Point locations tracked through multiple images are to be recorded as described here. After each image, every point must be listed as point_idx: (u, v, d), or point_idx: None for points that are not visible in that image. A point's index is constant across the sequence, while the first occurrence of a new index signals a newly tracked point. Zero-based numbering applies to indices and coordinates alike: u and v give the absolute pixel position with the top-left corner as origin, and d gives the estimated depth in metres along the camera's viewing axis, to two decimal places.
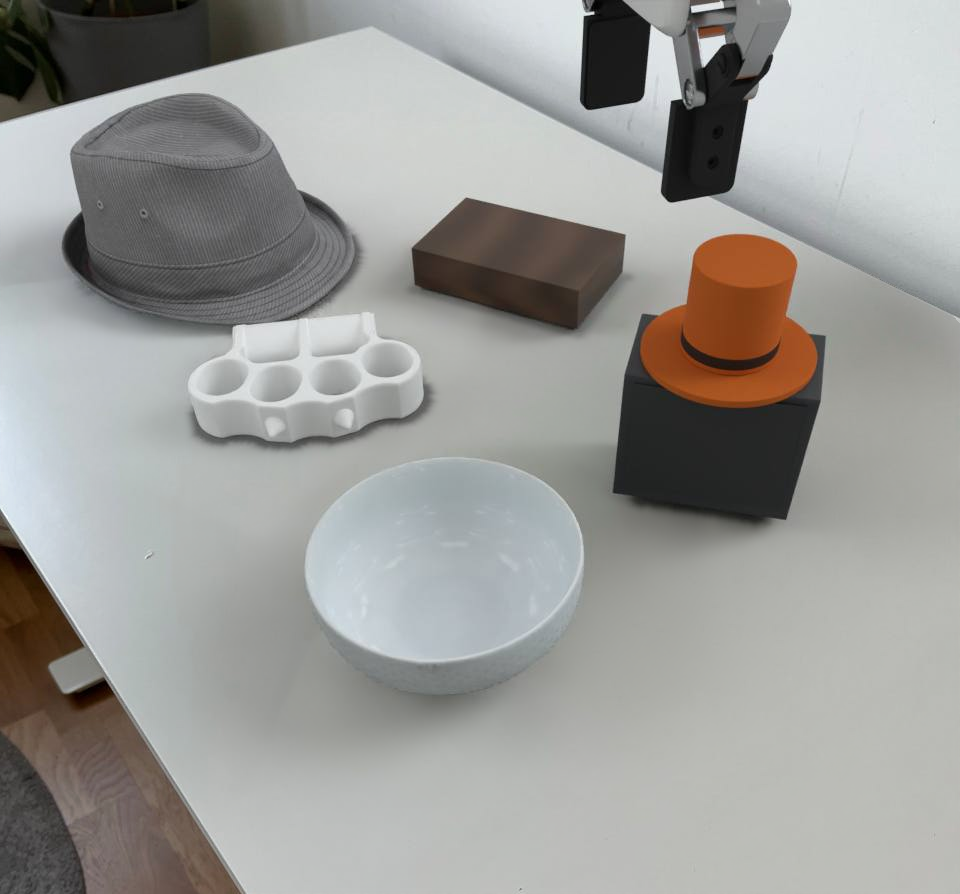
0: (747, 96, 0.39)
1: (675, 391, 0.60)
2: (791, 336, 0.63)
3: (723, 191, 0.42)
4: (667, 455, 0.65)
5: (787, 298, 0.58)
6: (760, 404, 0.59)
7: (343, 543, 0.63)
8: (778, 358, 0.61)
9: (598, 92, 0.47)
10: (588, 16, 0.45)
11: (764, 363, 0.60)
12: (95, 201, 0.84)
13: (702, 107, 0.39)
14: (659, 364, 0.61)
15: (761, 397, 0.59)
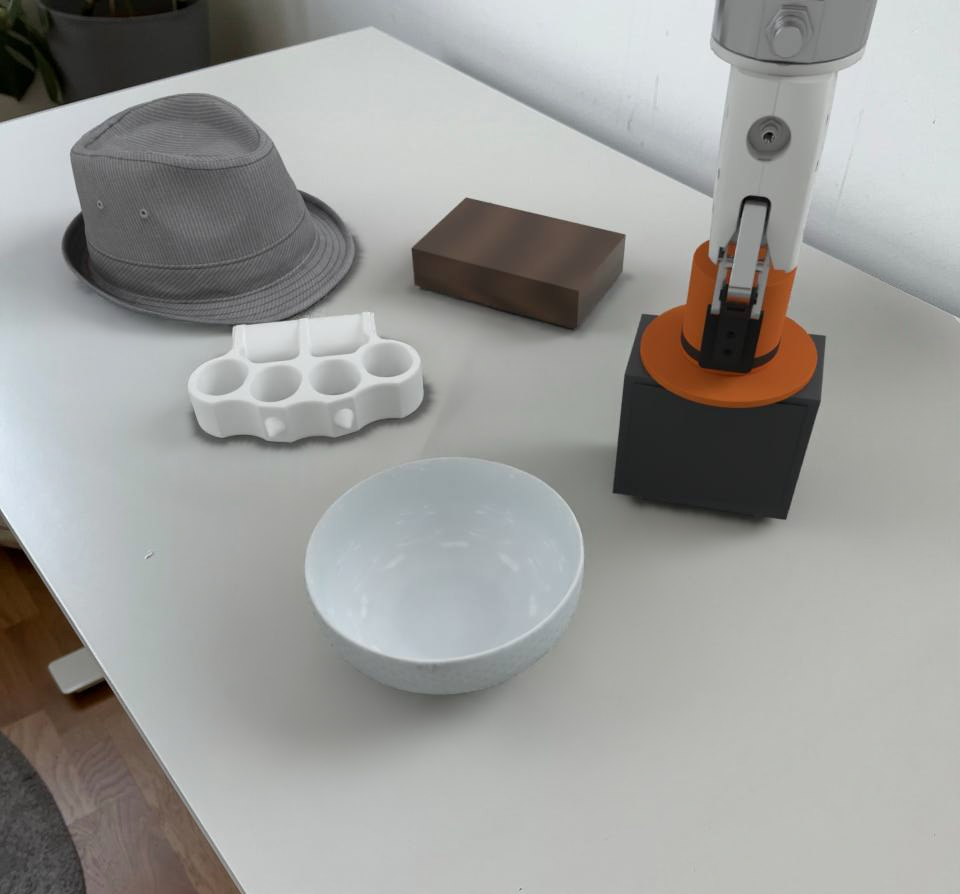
0: (752, 318, 0.55)
1: (675, 391, 0.60)
2: (791, 336, 0.63)
3: (743, 372, 0.59)
4: (667, 455, 0.65)
5: (787, 298, 0.58)
6: (760, 404, 0.59)
7: (343, 543, 0.63)
8: (778, 358, 0.61)
9: None
10: None
11: (764, 363, 0.60)
12: (95, 201, 0.84)
13: (720, 315, 0.56)
14: (659, 364, 0.61)
15: (761, 397, 0.59)
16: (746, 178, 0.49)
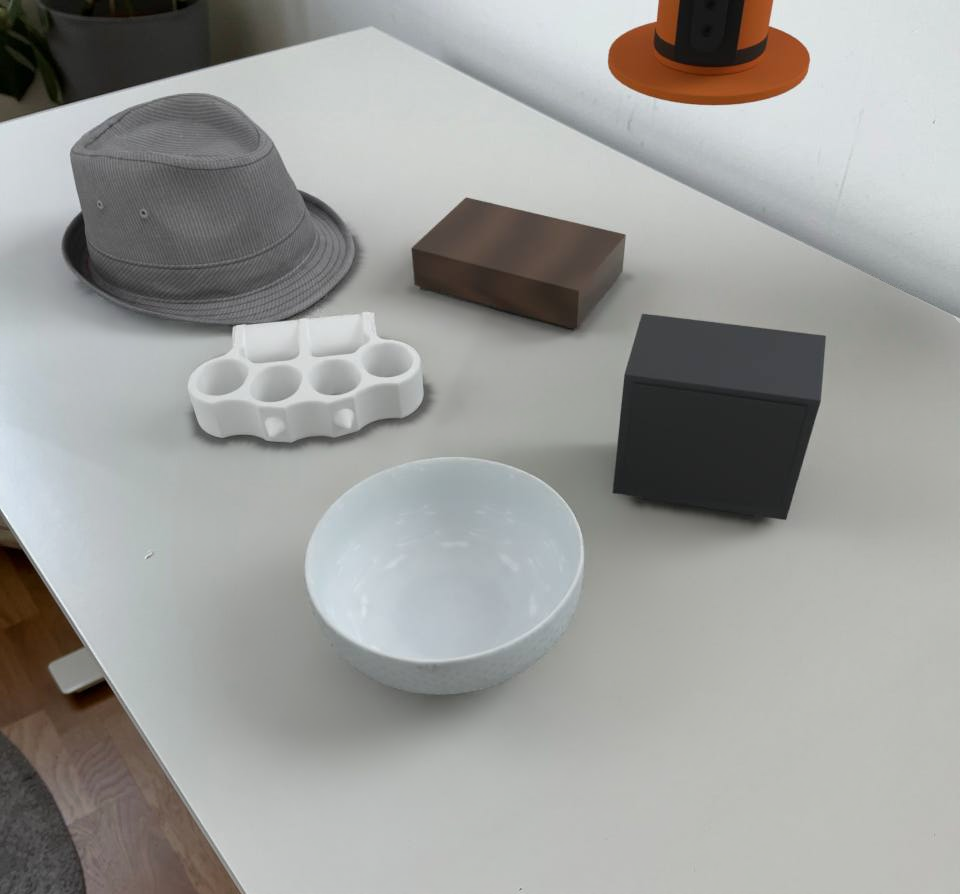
0: None
1: (648, 92, 0.52)
2: (780, 43, 0.55)
3: (725, 63, 0.51)
4: (667, 455, 0.65)
5: None
6: (745, 100, 0.51)
7: (343, 543, 0.63)
8: (765, 60, 0.54)
9: None
10: None
11: (749, 59, 0.52)
12: (95, 201, 0.84)
13: None
14: (629, 68, 0.53)
15: (746, 91, 0.51)
16: None
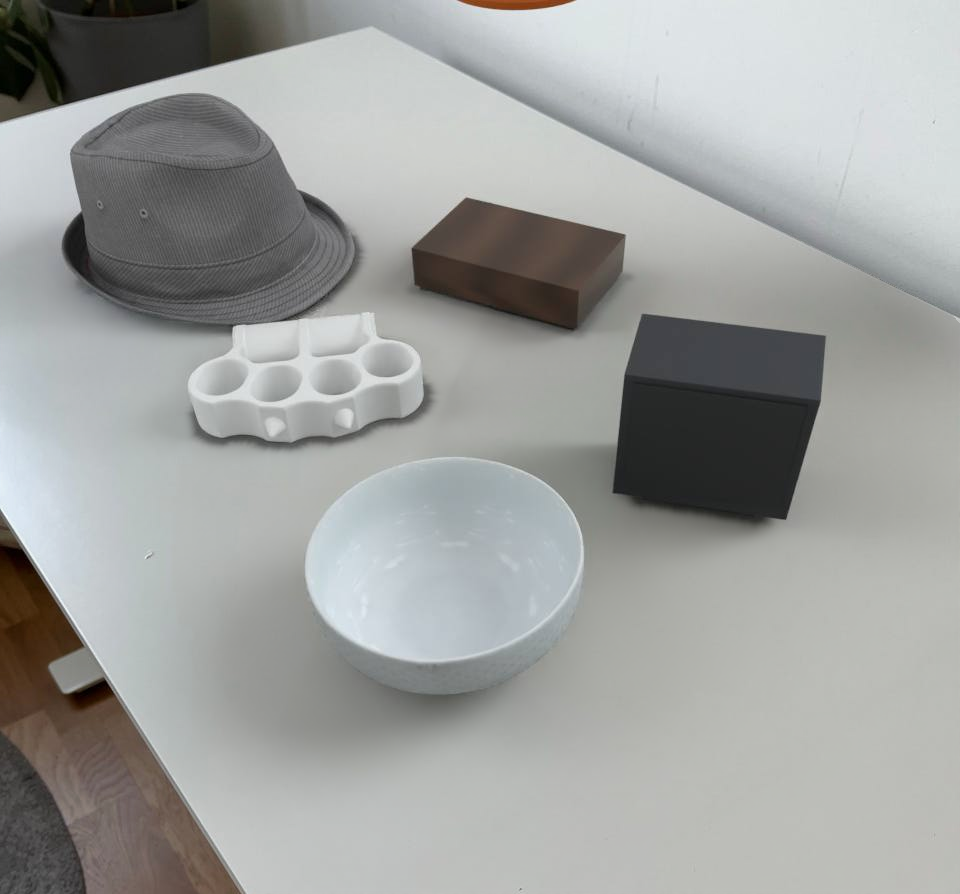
0: None
1: (465, 0, 0.68)
2: None
3: None
4: (667, 455, 0.65)
5: None
6: (538, 6, 0.67)
7: (343, 543, 0.63)
8: None
9: None
10: None
11: None
12: (95, 201, 0.84)
13: None
14: None
15: None
16: None
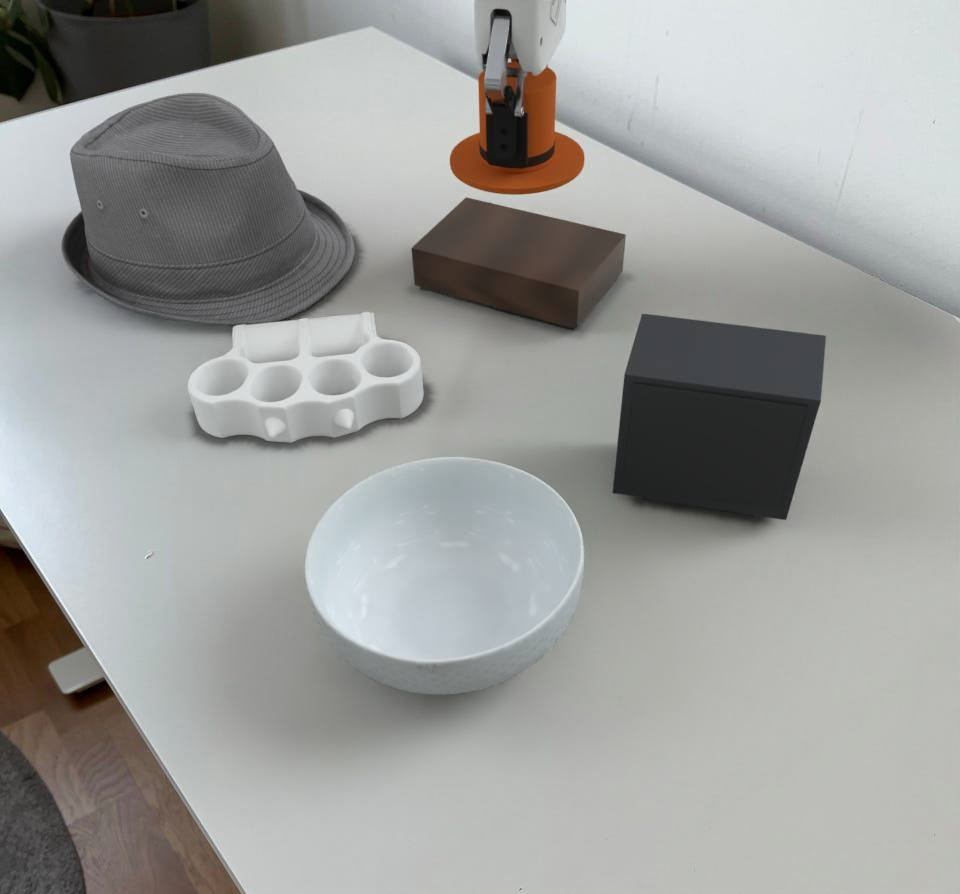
0: (516, 115, 0.73)
1: (470, 184, 0.78)
2: (567, 149, 0.81)
3: (520, 167, 0.77)
4: (667, 455, 0.65)
5: (549, 107, 0.76)
6: (533, 191, 0.77)
7: (343, 543, 0.63)
8: (553, 162, 0.79)
9: None
10: None
11: (539, 163, 0.78)
12: (95, 201, 0.84)
13: (493, 115, 0.74)
14: (461, 166, 0.79)
15: (533, 185, 0.77)
16: None
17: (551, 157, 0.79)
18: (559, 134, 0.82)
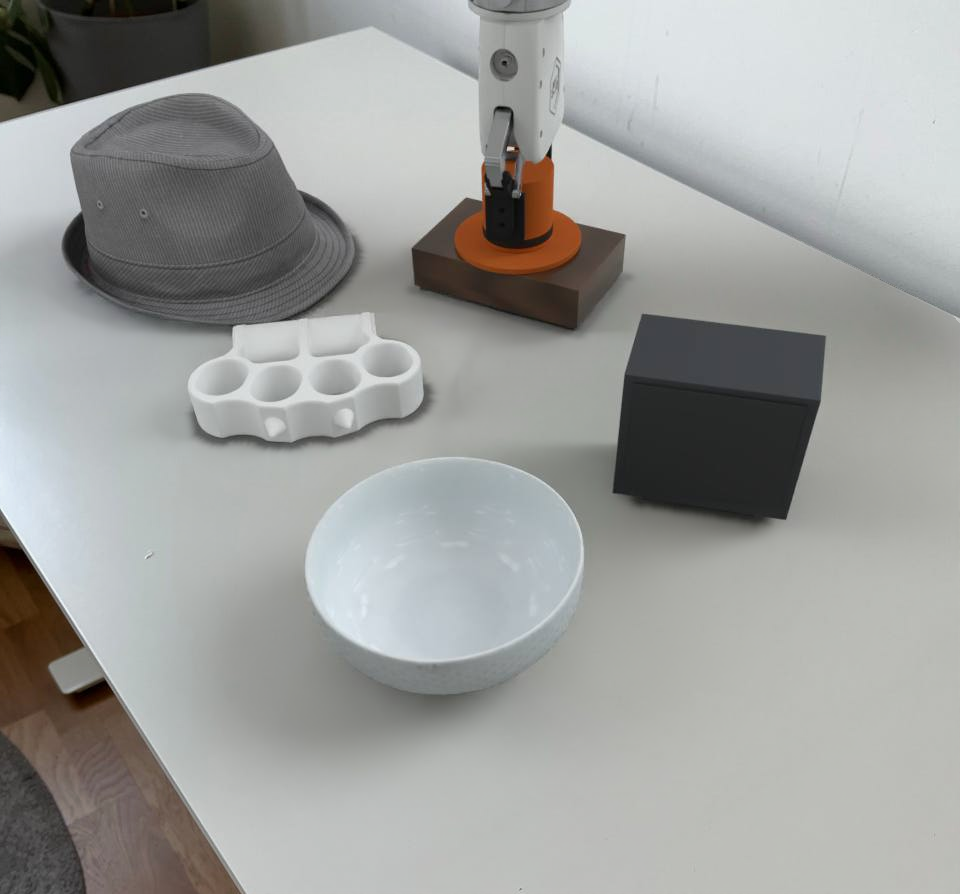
0: (513, 197, 0.77)
1: (474, 264, 0.83)
2: (565, 228, 0.86)
3: (518, 242, 0.80)
4: (667, 455, 0.65)
5: (548, 194, 0.81)
6: (532, 271, 0.82)
7: (343, 543, 0.63)
8: (552, 242, 0.85)
9: None
10: None
11: (538, 244, 0.83)
12: (95, 201, 0.84)
13: (492, 196, 0.77)
14: (465, 246, 0.85)
15: (533, 266, 0.82)
16: (494, 93, 0.72)
17: (550, 237, 0.84)
18: (557, 213, 0.88)
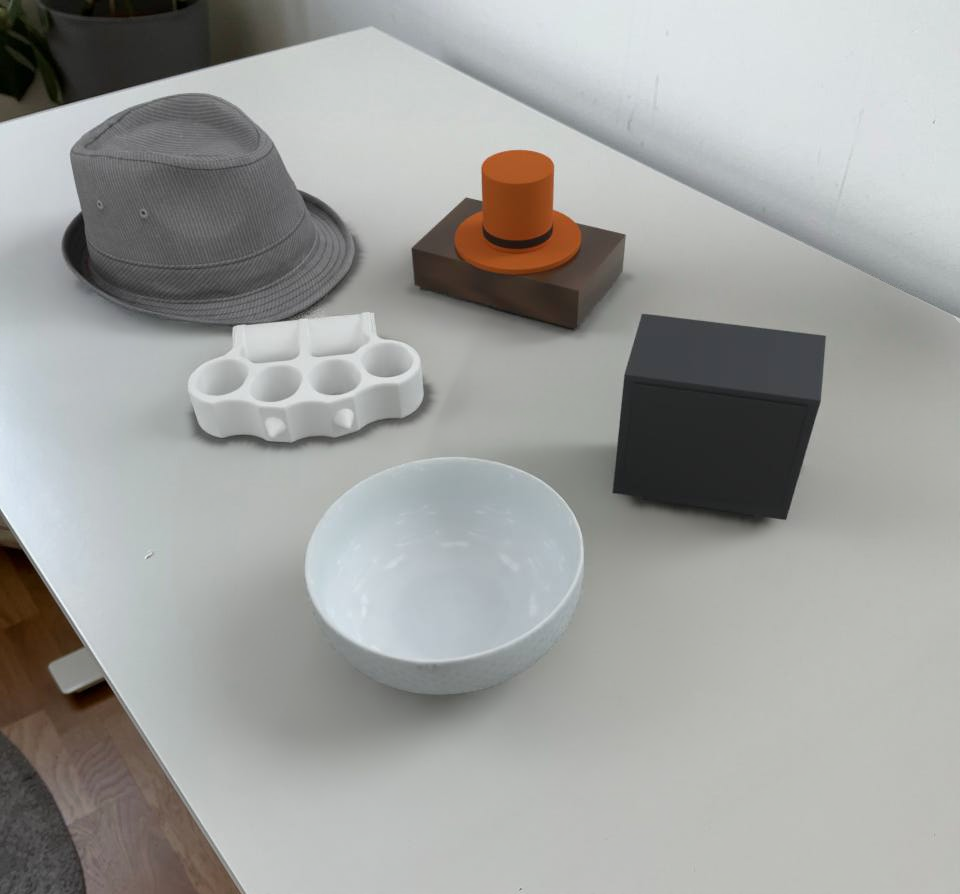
0: None
1: (474, 264, 0.83)
2: (565, 228, 0.86)
3: None
4: (667, 455, 0.65)
5: (548, 194, 0.81)
6: (532, 271, 0.82)
7: (343, 543, 0.63)
8: (552, 242, 0.85)
9: None
10: None
11: (538, 244, 0.83)
12: (95, 201, 0.84)
13: None
14: (465, 246, 0.85)
15: (533, 266, 0.82)
16: None
17: (550, 237, 0.84)
18: (557, 213, 0.88)
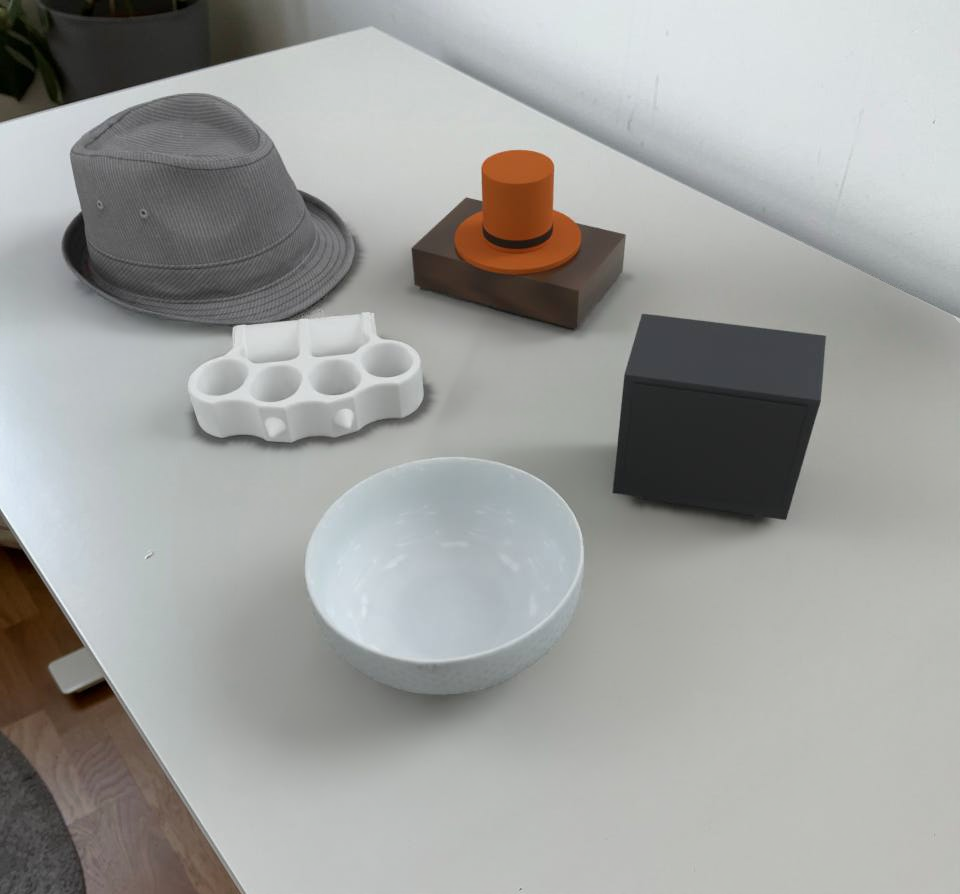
0: None
1: (474, 264, 0.83)
2: (565, 228, 0.86)
3: None
4: (667, 455, 0.65)
5: (548, 194, 0.81)
6: (532, 271, 0.82)
7: (343, 543, 0.63)
8: (552, 242, 0.85)
9: None
10: None
11: (538, 244, 0.83)
12: (95, 201, 0.84)
13: None
14: (465, 246, 0.85)
15: (533, 266, 0.82)
16: None
17: (550, 237, 0.84)
18: (557, 213, 0.88)
